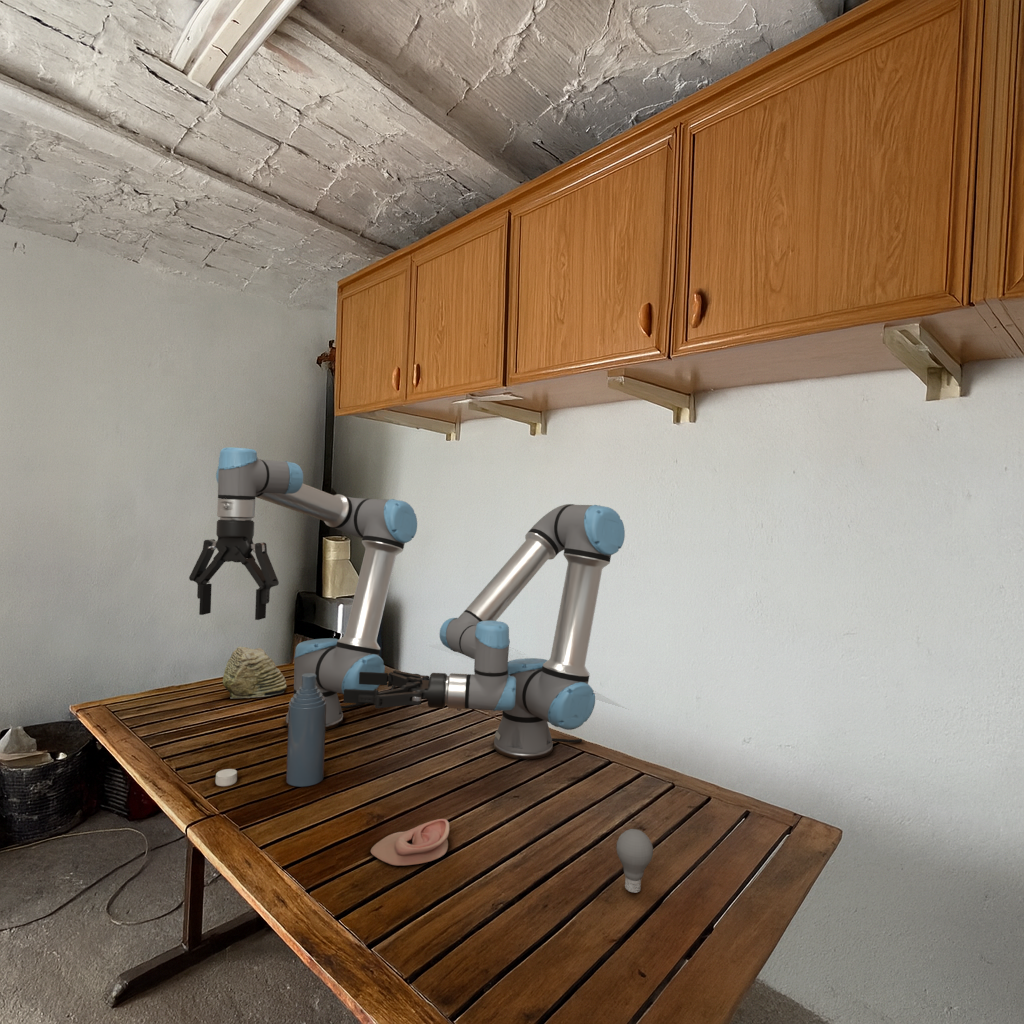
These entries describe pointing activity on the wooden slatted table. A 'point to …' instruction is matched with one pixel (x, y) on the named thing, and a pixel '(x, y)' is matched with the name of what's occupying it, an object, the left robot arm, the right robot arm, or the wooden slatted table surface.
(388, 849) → the anatomical model
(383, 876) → the wooden slatted table surface
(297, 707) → the bottle
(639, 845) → the light bulb
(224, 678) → the fossil
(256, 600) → the left robot arm
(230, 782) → the cap
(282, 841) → the wooden slatted table surface
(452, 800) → the wooden slatted table surface
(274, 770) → the wooden slatted table surface
